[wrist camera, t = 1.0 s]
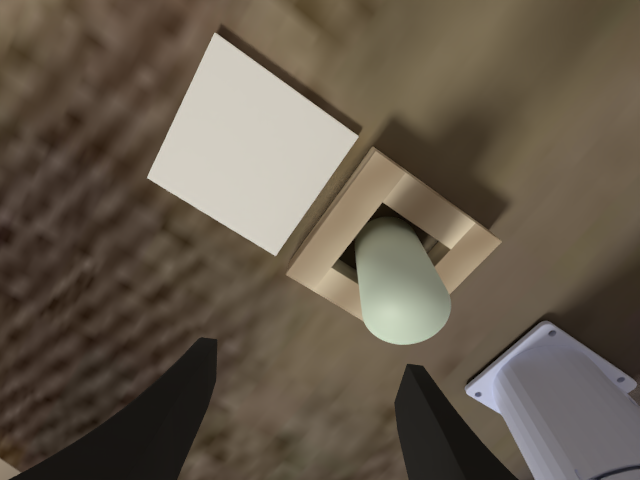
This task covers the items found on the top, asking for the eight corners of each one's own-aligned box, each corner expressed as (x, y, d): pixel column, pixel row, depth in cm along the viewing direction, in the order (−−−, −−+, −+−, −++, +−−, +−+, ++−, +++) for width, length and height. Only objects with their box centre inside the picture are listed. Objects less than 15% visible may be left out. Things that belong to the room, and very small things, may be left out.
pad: (358, 135, 19) (358, 136, 19) (276, 253, 23) (275, 256, 22) (217, 33, 18) (214, 32, 17) (150, 176, 21) (146, 177, 20)
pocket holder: (489, 229, 21) (501, 241, 20) (396, 326, 24) (400, 343, 23) (372, 145, 20) (375, 150, 18) (289, 261, 23) (285, 274, 21)
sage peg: (430, 239, 22) (470, 300, 15) (390, 283, 23) (411, 357, 17) (380, 204, 21) (399, 253, 15) (342, 252, 22) (344, 317, 16)
